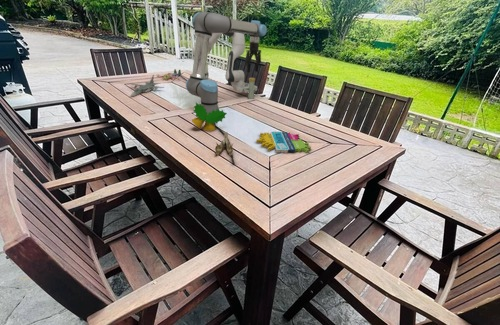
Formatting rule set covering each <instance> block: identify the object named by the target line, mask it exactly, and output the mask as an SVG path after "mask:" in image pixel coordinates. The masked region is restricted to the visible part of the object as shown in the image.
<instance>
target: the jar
mask: <svg viewBox="0 0 500 325" xmlns="http://www.w3.org/2000/svg"><path fill="white" fill-rule="evenodd" d="M248 83H249V92H247V98H248V99H249V100H253V99H254V97H255V92H254V85H255V83H256V80H255V81H254V82H251V81H249V80H248Z"/></svg>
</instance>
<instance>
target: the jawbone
mask: <svg viewBox="0 0 500 325" xmlns="http://www.w3.org/2000/svg"><path fill="white" fill-rule="evenodd" d="M228 135H229V133H228V131H226V132H224V135H223V140H222V139H221V142H220V144H218V142H215V144H216V146H215V148H214V149H215V152H214V154H215V155H217V156H218V155H220V153H221V152H223V151H224V150H226V152H227V153H228V155H229V156H231V155H233V156H234V154H233V153H234V148H233V144H234V143H230V144H229V142H230V140H229V138H228V137H229V136H228ZM228 140H229V141H228Z"/></svg>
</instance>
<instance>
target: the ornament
mask: <svg viewBox="0 0 500 325" xmlns="http://www.w3.org/2000/svg"><path fill="white" fill-rule="evenodd" d="M219 110H220V108H219V109H217V110H216V111H214V110H212V112H211V113H208V112H206V109H204V106H201V103H198V102H195V105H194V106H193V112H194V113H195V118H192V119H191V122H192V123H193V125H195V127H197V128H198V129H202V130H203V131H206V132H212V131H213V132H214V131H215V130H216V127H215V125H214V123H215V124H218V123H219V122H223V119H226V115H227V114H228V113H227V112H224V110H223V109H221V110H220V111H219ZM207 113H208V115H207Z"/></svg>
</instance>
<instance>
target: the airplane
mask: <svg viewBox="0 0 500 325" xmlns="http://www.w3.org/2000/svg"><path fill="white" fill-rule="evenodd" d="M154 76H155V75H154V74H152V77H151V78H150V80H149V81H144V83H145V84H137V83H130V85H131V86H133V89H135V90H134V91H133V92H132V93H131V94H130V97H135V96H137V95H139V94H141V93H148V92H150V91H151V90H153V91H157V90H158V88H159V89H162V88H163V89H165V86H156V85H161V82H160V83H159V82H158V83H157V82H155V81H154V78H155V77H154Z"/></svg>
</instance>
